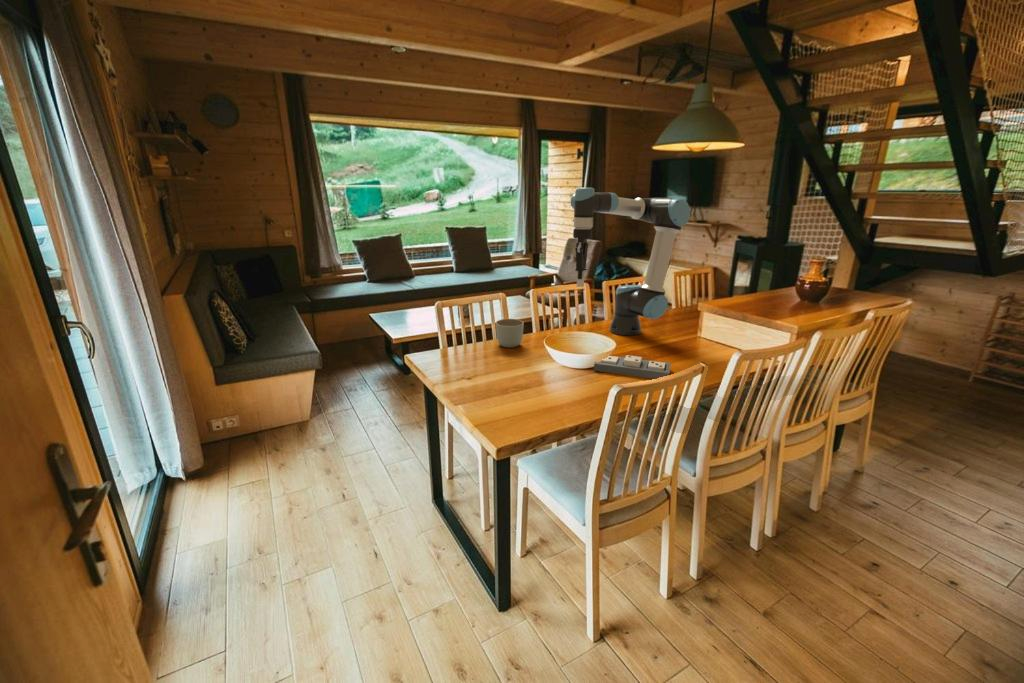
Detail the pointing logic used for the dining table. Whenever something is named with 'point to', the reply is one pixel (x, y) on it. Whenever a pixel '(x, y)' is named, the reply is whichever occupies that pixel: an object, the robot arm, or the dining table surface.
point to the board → (632, 369)
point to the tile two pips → (632, 361)
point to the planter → (509, 332)
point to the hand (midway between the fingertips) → (580, 286)
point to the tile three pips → (656, 365)
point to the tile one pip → (610, 360)
